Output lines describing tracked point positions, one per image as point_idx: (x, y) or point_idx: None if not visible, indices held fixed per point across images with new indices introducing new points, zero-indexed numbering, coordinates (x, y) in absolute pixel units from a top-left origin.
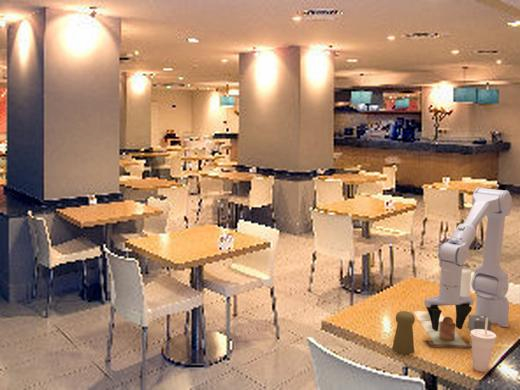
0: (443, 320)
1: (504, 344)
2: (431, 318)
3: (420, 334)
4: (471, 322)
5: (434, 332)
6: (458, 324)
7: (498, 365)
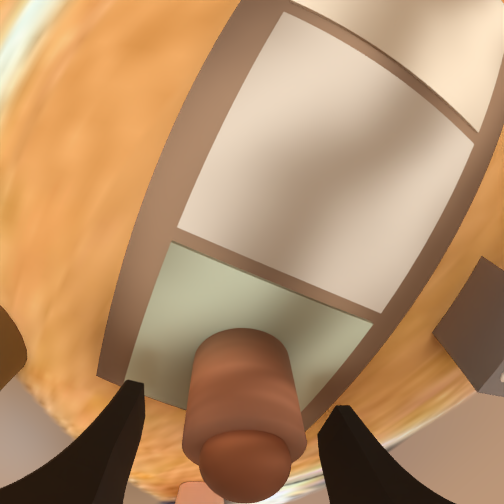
0: (200, 469)
1: (442, 405)
2: (91, 439)
3: (140, 203)
4: (494, 334)
5: (226, 269)
6: (331, 446)
7: None
